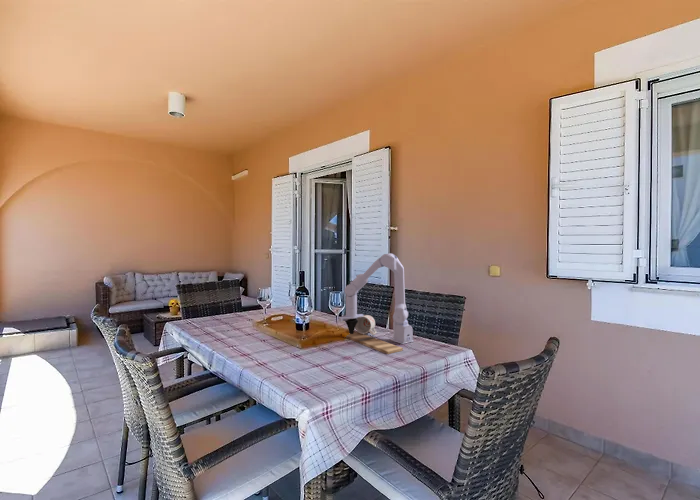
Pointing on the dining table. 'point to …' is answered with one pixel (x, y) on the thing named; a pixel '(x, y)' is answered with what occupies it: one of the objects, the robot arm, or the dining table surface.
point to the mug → (366, 325)
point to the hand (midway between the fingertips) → (351, 333)
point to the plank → (357, 336)
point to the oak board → (381, 345)
